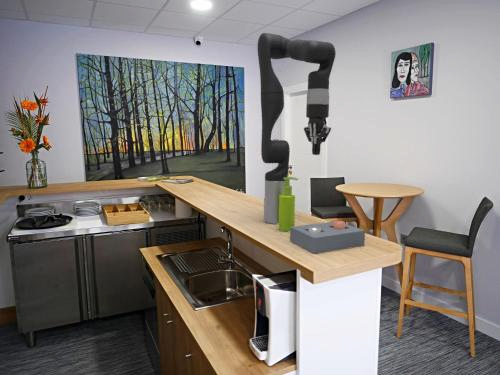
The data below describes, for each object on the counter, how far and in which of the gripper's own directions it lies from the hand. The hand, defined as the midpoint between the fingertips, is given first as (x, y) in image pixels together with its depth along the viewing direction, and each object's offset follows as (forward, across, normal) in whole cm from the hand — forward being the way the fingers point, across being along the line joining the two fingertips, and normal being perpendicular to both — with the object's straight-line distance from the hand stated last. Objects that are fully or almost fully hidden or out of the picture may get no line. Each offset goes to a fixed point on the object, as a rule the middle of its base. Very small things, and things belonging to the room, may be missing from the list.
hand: (316, 154), depth 128 cm
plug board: (+29, +9, -1) cm, 30 cm away
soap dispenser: (+29, -11, -4) cm, 31 cm away
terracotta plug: (+27, +9, +4) cm, 29 cm away
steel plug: (+28, +9, -6) cm, 30 cm away
